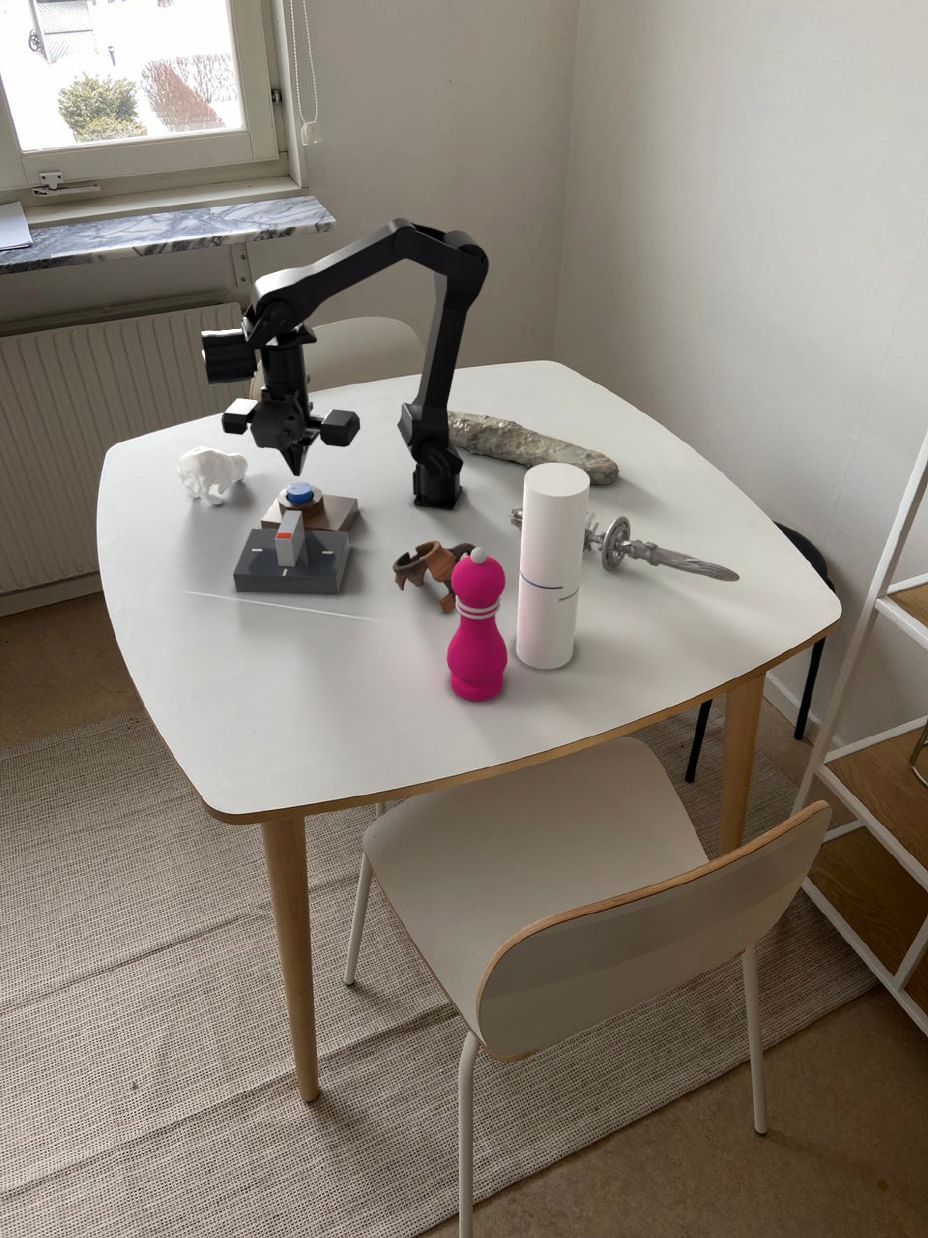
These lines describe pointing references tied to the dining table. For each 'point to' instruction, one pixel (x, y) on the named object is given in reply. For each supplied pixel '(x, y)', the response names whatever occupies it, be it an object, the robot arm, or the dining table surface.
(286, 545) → the rotary switch knob
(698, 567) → the silver sword
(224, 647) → the dining table surface
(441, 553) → the broken clay pot shards
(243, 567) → the rotary switch base
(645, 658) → the dining table surface
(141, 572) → the dining table surface
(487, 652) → the pepper mill
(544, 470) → the cylindrical container
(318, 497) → the button block
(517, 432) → the elongated rock
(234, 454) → the white animal figurine
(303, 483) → the button
